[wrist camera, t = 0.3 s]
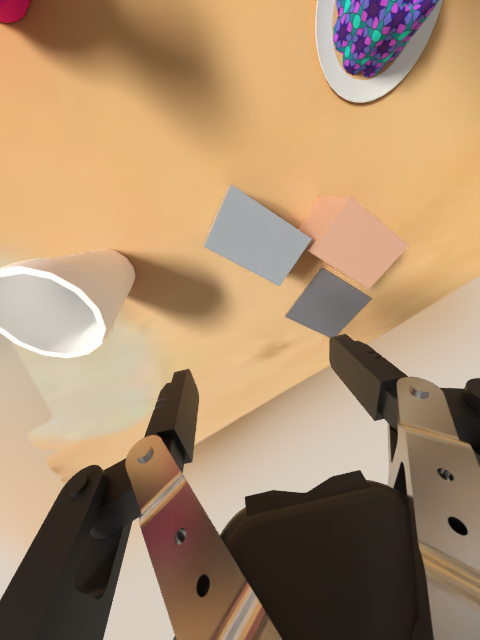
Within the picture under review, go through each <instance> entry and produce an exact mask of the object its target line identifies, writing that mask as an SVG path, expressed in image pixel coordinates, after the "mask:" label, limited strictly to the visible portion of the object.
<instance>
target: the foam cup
mask: <svg viewBox="0 0 480 640" xmlns="http://www.w3.org/2000/svg"><path fill="white" fill-rule="evenodd" d="M135 277H136V276H135V272H134V267H133V266H132V264H131V263H130V262H129V260H128V259H127V258H126V257H125V256H123V255H122V254H120V253H119V252H117V251H114V250H110V249H99V250H93V251H88V252H82V253H77V254H71V255H66V256H60V257H55V258H49V259H46V258H36V259H31V260H25V261H19V262H15V263H12V264H9V265H6V266H3V267H0V333H1V334H3V335H4V336H5V337H7V338H8V339H9V340H11V341H12V342H14V343H15V344H16V345H19V346H21V347H24V348H26V349H29V350H31V351H34V352H36V353H39V354H41V355H47V356H54V357H62V358H71V357H77V356H82V355H88V354H89V353H90V352H92V351H93V350H95V349H96V348H97V347H99V346H100V345H101V344H102V343H103V342H104V340H105V339H106V338H107V337H108V335H109V334H110V333H111V331H112V329H113V326H114V323H115V320H116V317H117V315H118V314H119V312H120V310H121V308H122V306H123V304H124V302H125V300H126V298H127V296H128V294H129V292H130V290H131V288H132V286H133V283H134V280H135Z"/></svg>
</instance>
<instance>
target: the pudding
mask: <svg viewBox="0 0 480 640" xmlns="http://www.w3.org/2000/svg"><path fill="white" fill-rule="evenodd" d="M442 1H443V0H337V1H336V5H337V10H338V15H339V16H338V19H337V21H336V24H335V26H334V44H335V47H336V50H337V51H339V52H340V53H342V54H343V67H344V68H345V70H346V71H347V73H350V74H352V75H354V74H356V73H358V72H360V71H361V72H362V73H363V75H364V76H365V77H373V76H374V75H376V74H377V73H379V72H380V70H381V69H382V68H383V67H384V65H385V64H386V63H387V62H390V61H393V60H394V59H395V58H396V56H397V55H398V54H399V53H400V52H401V51H402V52H401V53H400V55H399V56H398V58H397V59H396V60H395V61H394V63H393V64H392V65H391V66H390V67H389V68H388V69H387V70H386V71H384V72H383V73H381V74H380V75H379V76H376V77H374V78H372V79H368V80H357V79H354V78H352V77H350V76H349V75H347V74H346V73H345V72H344V70H343V69H342V68H341V66H340V64H339V62H338V60H337V57H336V54H335V51H334V46H333V39H332V16H333V10H334V3H335V0H317V7H316V27H315V34H316V45H317V52H318V57H319V61H320V65H321V68H322V70H323V73H324V76H325V78H326V80H327V81H328V83H329V85H330V86H331V88H332V89H333V90H334V91H335V92H336V93H337V94H338V95H339V96H341V97H342V98H344V99H345V100H348V101H351V102H358V103H364V102H369V101H373V100H375V99H377V98H379V97H382V96H383V95H385V94H386V93H388V92H389V91H391V90H392V89H393V88H394V87H395V86H396V85H397V84H398V83H399V82H401V81H402V80H403V78H404V77H405V76H406V75H407V74H408V72H409V71H410V70H411V69H412V67H413V66H414V64H415V63H416V61H417V60H418V58H419V57H420V55H421V53H422V51H423V49H424V48H425V46H426V44H427V42H428V40H429V38H430V35H431V33H432V31H433V28H434V26H435V23H436V21H437V18H438V14H439V11H440V8H441V5H442ZM403 48H404V49H403ZM402 49H403V50H402Z"/></svg>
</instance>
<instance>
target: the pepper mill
mask: <svg viewBox="0 0 480 640" xmlns="http://www.w3.org/2000/svg"><path fill="white" fill-rule="evenodd" d="M29 4H30V0H0V21H1V22H6V23H12V22H16V21H18V20H19V19H21V18H22V17H23V16H24V15H25V14H26V12H27V9H28V7H29Z"/></svg>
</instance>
